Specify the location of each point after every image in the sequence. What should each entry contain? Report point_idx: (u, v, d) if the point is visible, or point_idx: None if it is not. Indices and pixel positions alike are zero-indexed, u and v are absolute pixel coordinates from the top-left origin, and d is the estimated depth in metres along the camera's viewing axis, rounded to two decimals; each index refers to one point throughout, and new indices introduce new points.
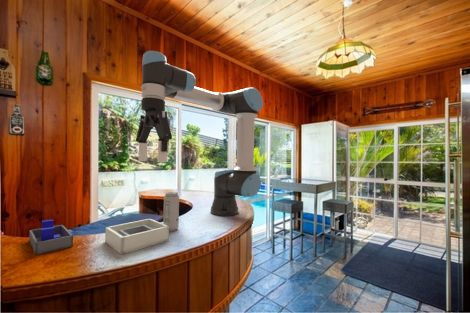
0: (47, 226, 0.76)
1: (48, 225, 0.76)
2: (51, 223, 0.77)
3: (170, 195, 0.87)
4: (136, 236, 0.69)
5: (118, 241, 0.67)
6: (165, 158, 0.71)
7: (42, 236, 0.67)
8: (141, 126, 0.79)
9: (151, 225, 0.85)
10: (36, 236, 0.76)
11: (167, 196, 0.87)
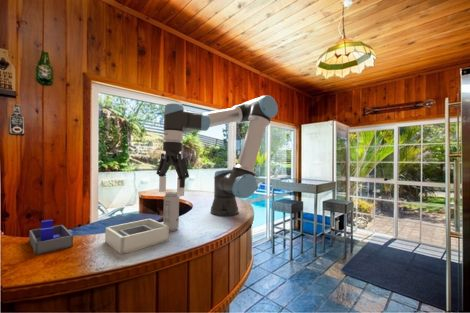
0: (46, 226, 0.76)
1: (47, 225, 0.76)
2: (50, 223, 0.76)
3: (170, 195, 0.87)
4: (136, 236, 0.69)
5: (118, 241, 0.67)
6: (183, 192, 0.85)
7: (41, 236, 0.67)
8: (161, 162, 0.94)
9: (151, 225, 0.85)
10: (36, 236, 0.76)
11: (167, 196, 0.87)
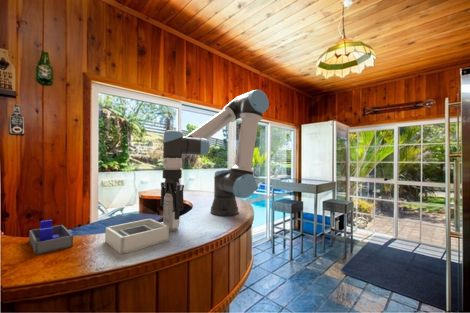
0: (45, 226, 0.75)
1: (46, 225, 0.76)
2: (49, 223, 0.76)
3: (170, 195, 0.87)
4: (136, 236, 0.69)
5: (118, 241, 0.67)
6: (178, 224, 0.88)
7: (41, 236, 0.67)
8: (163, 191, 0.93)
9: (151, 225, 0.85)
10: (36, 236, 0.76)
11: (167, 196, 0.87)
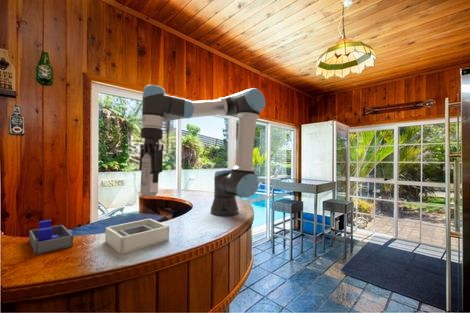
0: (45, 226, 0.75)
1: (46, 225, 0.75)
2: (49, 223, 0.76)
3: (148, 156, 0.79)
4: (136, 236, 0.69)
5: (118, 241, 0.67)
6: (156, 188, 0.79)
7: (40, 236, 0.67)
8: (142, 154, 0.84)
9: (151, 225, 0.85)
10: (36, 236, 0.76)
11: (145, 157, 0.79)
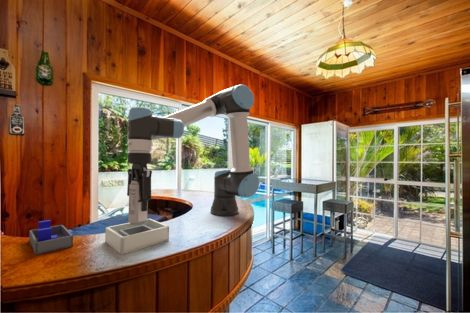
0: (44, 227, 0.75)
1: (45, 226, 0.75)
2: (48, 224, 0.76)
3: (136, 183, 0.74)
4: (136, 236, 0.69)
5: (118, 241, 0.67)
6: (145, 216, 0.75)
7: (39, 237, 0.67)
8: (130, 179, 0.80)
9: (151, 225, 0.85)
10: (36, 236, 0.76)
11: (132, 184, 0.74)
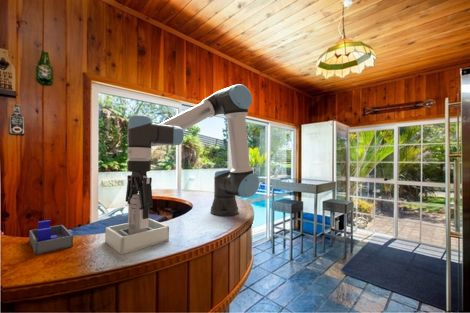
0: (43, 227, 0.75)
1: (44, 226, 0.75)
2: (47, 224, 0.76)
3: (137, 197, 0.75)
4: (136, 236, 0.69)
5: (118, 241, 0.67)
6: (146, 224, 0.74)
7: (39, 237, 0.67)
8: (129, 186, 0.80)
9: (151, 225, 0.85)
10: (36, 236, 0.76)
11: (133, 198, 0.75)
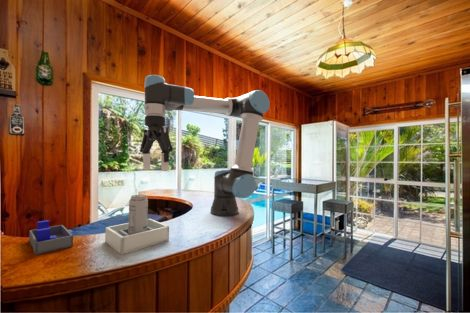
0: (42, 227, 0.75)
1: (43, 226, 0.75)
2: (47, 224, 0.76)
3: (136, 199, 0.74)
4: (136, 236, 0.69)
5: (118, 241, 0.67)
6: (167, 167, 0.83)
7: (38, 237, 0.66)
8: (144, 139, 0.90)
9: (151, 225, 0.85)
10: (36, 236, 0.76)
11: (132, 200, 0.74)
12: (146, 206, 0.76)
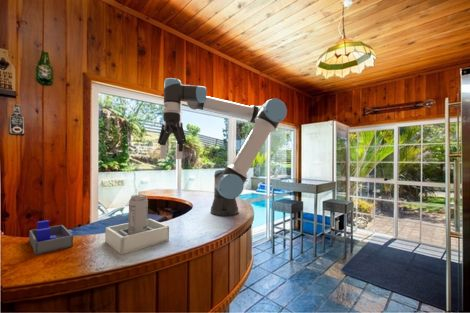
0: (42, 227, 0.75)
1: (43, 226, 0.75)
2: (47, 224, 0.76)
3: (136, 199, 0.74)
4: (136, 236, 0.69)
5: (118, 241, 0.67)
6: (181, 156, 0.98)
7: (38, 237, 0.66)
8: (162, 132, 1.06)
9: (151, 225, 0.85)
10: (36, 236, 0.76)
11: (132, 200, 0.74)
12: (146, 206, 0.76)
